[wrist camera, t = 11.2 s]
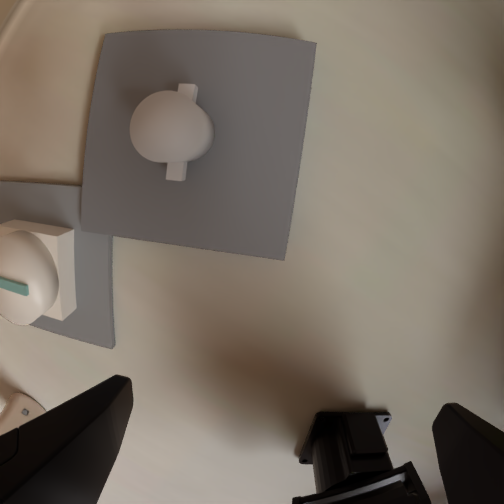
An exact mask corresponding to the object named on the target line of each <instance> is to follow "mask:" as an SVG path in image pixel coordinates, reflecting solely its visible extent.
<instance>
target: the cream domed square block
mask: <svg viewBox="0 0 504 504" xmlns="http://www.w3.org/2000/svg"><path fill="white" fill-rule="evenodd" d="M76 308H77V306H76V291H75V269H74V229H70V228H64V227H58V226H52V225H46V224H40V223H34V222H28V221H22V220H16V219H14V220H11V221H8V222H5V223H2V224H0V314H1V315H2V316H3V317H4V318H6V319H7V320H8V321H10V322H12V323H14V324H17V325H29V324H31V323H32V322H34V321H35V320H36V319H37V318H39V317H40V316H41V315H45V316H48V317H51V318H54V319H57V320H61V321H63V320H64V319H65V318H66V317H67V316H69V315H70V314H71V313H72V312H73V311H74V310H75V309H76Z"/></svg>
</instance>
